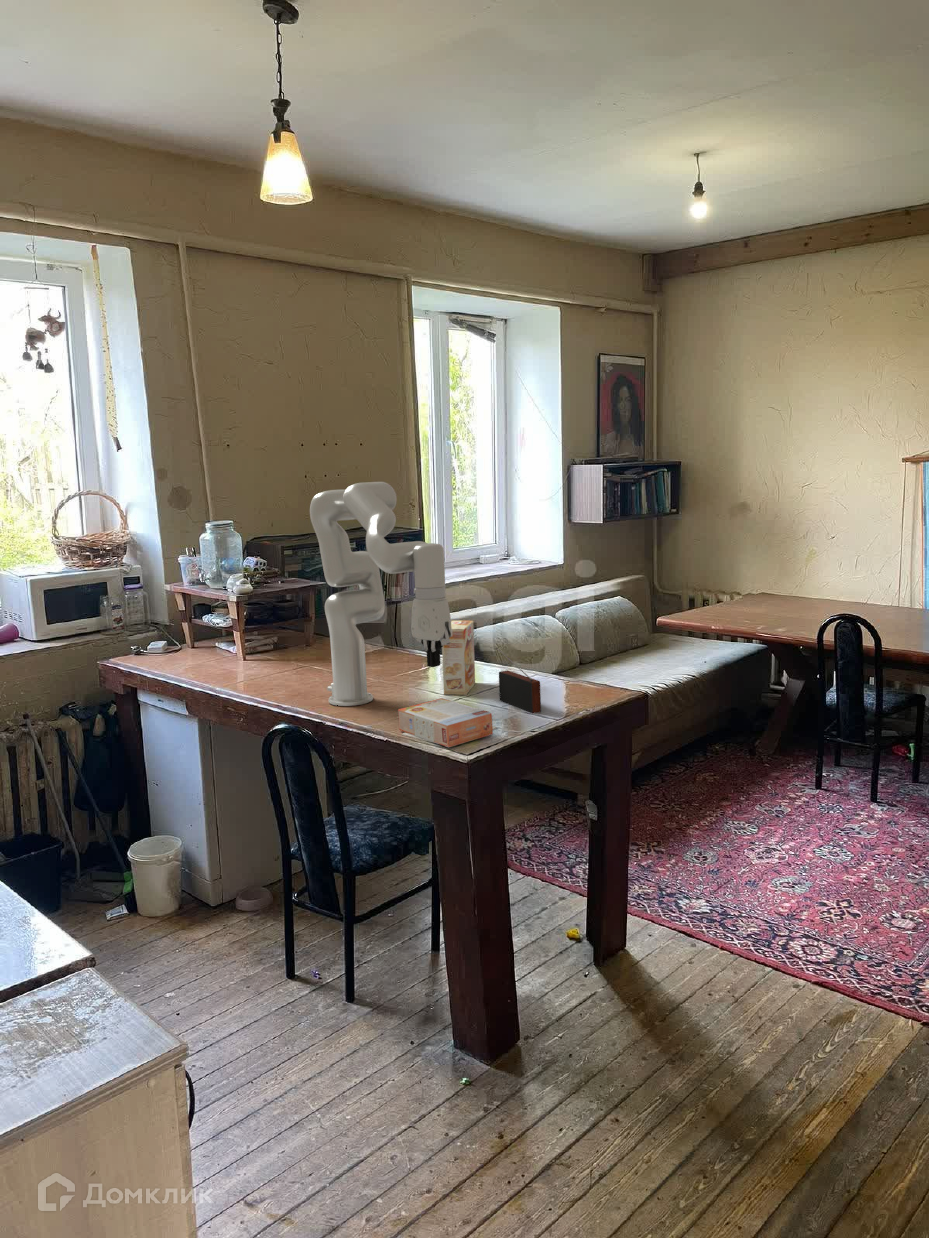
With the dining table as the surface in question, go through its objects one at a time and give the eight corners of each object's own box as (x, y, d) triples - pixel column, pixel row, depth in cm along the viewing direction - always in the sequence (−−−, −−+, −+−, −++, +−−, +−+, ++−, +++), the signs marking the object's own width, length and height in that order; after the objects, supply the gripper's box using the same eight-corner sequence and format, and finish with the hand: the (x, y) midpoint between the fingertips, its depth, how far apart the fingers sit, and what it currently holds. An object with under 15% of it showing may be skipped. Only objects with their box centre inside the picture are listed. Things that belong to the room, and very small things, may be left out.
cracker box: (398, 731, 231) (448, 748, 214) (397, 708, 230) (446, 724, 213) (443, 719, 239) (494, 735, 223) (441, 697, 238) (492, 711, 222)
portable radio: (542, 712, 244) (540, 657, 241) (532, 714, 242) (531, 658, 240) (505, 697, 260) (503, 646, 257) (495, 699, 258) (494, 647, 256)
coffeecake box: (466, 695, 264) (464, 629, 260) (442, 695, 265) (440, 629, 262) (476, 682, 278) (474, 619, 275) (453, 682, 280) (451, 619, 276)
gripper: (398, 593, 228) (402, 665, 231) (442, 597, 218) (445, 672, 221) (419, 590, 234) (423, 660, 237) (463, 593, 224) (466, 666, 227)
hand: (433, 665), depth 229 cm, fingers closed
